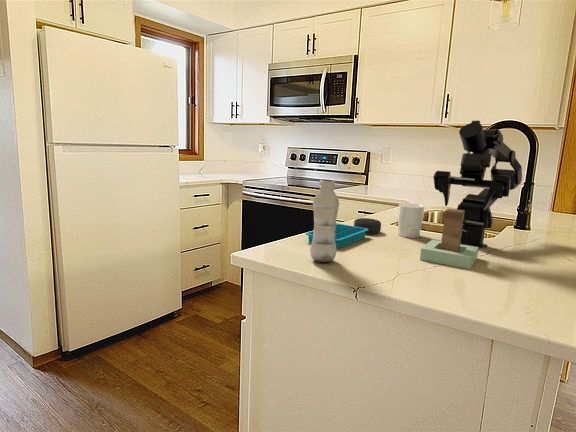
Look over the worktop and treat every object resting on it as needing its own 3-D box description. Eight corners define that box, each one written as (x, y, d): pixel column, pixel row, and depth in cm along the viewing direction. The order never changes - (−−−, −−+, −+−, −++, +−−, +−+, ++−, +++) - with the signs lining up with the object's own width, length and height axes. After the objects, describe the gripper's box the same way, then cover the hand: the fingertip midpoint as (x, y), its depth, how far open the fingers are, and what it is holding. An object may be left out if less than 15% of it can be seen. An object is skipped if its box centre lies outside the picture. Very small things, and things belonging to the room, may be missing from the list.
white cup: (422, 239, 124) (426, 208, 122) (396, 237, 125) (399, 206, 124) (419, 233, 132) (422, 204, 130) (395, 231, 133) (398, 202, 131)
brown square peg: (442, 255, 106) (448, 208, 104) (458, 258, 104) (464, 210, 102) (439, 259, 103) (445, 210, 100) (455, 262, 101) (462, 212, 98)
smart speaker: (370, 228, 138) (371, 217, 137) (385, 234, 130) (386, 222, 129) (348, 229, 134) (349, 218, 133) (363, 235, 126) (364, 223, 125)
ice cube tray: (302, 243, 115) (303, 233, 114) (336, 232, 131) (337, 223, 130) (338, 251, 108) (338, 240, 107) (369, 238, 124) (369, 229, 123)
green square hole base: (430, 249, 112) (432, 239, 111) (477, 258, 105) (478, 247, 105) (419, 259, 102) (421, 248, 101) (470, 269, 95) (471, 257, 95)
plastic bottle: (338, 259, 99) (343, 180, 96) (332, 266, 93) (337, 182, 89) (313, 255, 101) (318, 178, 98) (306, 263, 95) (310, 180, 91)
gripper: (438, 141, 109) (424, 183, 102) (515, 144, 99) (505, 191, 92) (441, 168, 117) (428, 209, 110) (513, 173, 107) (503, 219, 100)
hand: (464, 207), depth 103 cm, fingers open, 9 cm apart
